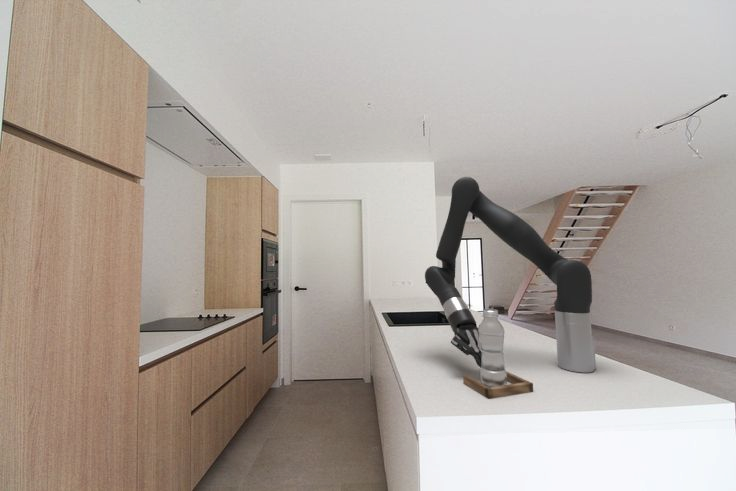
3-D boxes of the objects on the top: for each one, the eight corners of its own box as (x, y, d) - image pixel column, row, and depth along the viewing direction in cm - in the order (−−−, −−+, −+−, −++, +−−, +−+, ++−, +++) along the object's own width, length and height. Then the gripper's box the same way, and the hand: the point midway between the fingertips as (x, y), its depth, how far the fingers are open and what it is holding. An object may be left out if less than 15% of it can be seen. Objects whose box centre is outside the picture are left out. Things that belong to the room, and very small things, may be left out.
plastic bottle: (510, 392, 75) (506, 311, 76) (481, 390, 76) (478, 311, 78) (505, 383, 81) (501, 308, 82) (478, 381, 83) (475, 308, 84)
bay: (504, 377, 85) (503, 370, 85) (533, 391, 75) (532, 383, 76) (463, 383, 81) (463, 375, 81) (488, 398, 72) (488, 390, 72)
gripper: (444, 308, 91) (469, 362, 78) (481, 306, 94) (511, 358, 82) (435, 323, 95) (458, 376, 83) (471, 321, 99) (498, 371, 87)
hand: (484, 367), depth 82 cm, fingers closed
